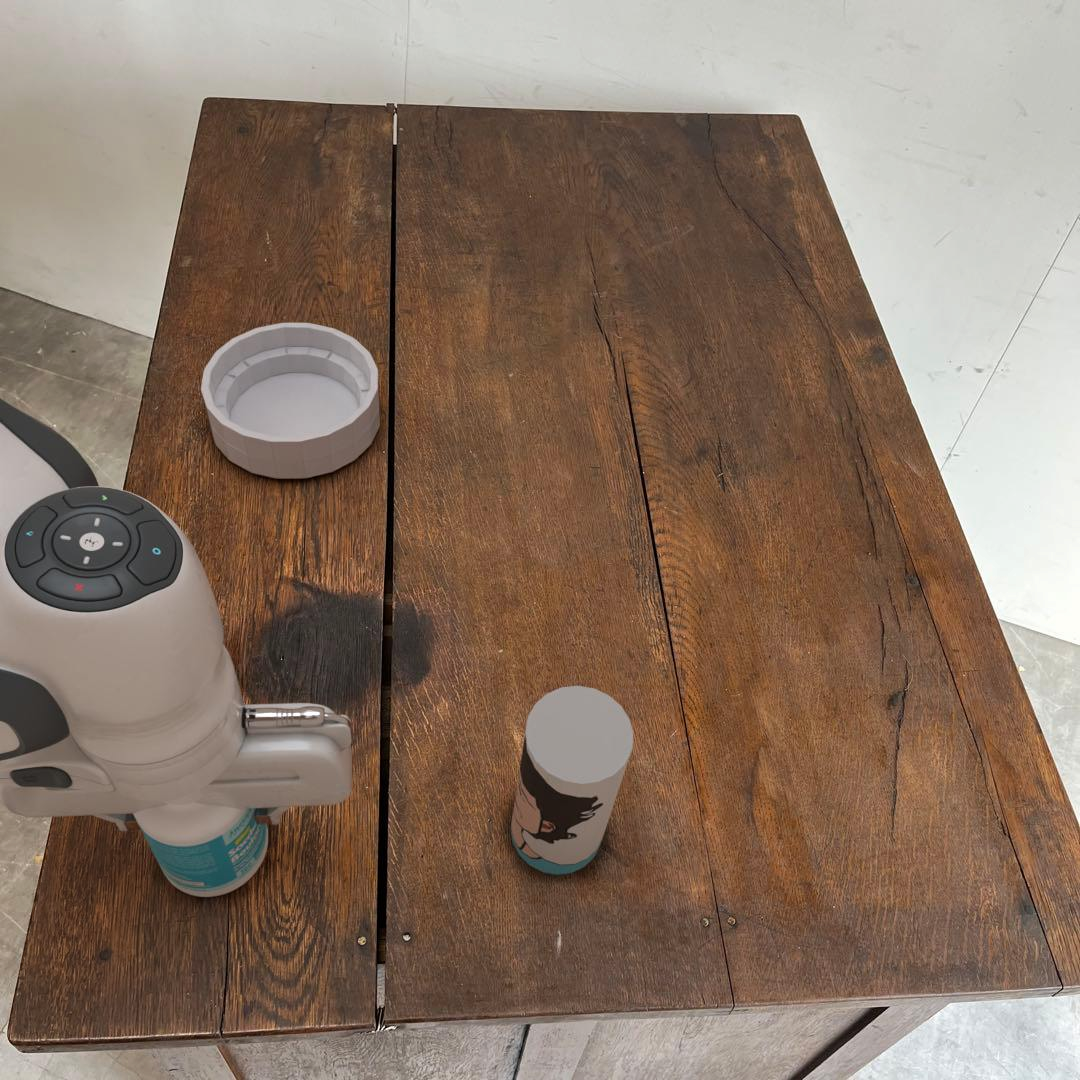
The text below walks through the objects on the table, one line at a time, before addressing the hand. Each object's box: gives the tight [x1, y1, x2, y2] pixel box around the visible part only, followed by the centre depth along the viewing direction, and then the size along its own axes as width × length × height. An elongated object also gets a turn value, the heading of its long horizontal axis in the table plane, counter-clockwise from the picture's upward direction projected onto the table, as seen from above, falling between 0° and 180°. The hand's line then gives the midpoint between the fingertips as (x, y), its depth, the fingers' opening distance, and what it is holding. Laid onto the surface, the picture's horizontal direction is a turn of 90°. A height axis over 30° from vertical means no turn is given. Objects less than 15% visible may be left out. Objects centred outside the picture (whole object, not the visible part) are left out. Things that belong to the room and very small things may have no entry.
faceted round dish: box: [200, 322, 381, 480], centre depth 96 cm, size 16×16×6 cm
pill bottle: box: [133, 790, 269, 898], centre depth 67 cm, size 8×7×14 cm
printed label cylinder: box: [510, 685, 634, 876], centre depth 70 cm, size 7×7×15 cm
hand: (202, 817), depth 68 cm, fingers closed on pill bottle, 7 cm apart
